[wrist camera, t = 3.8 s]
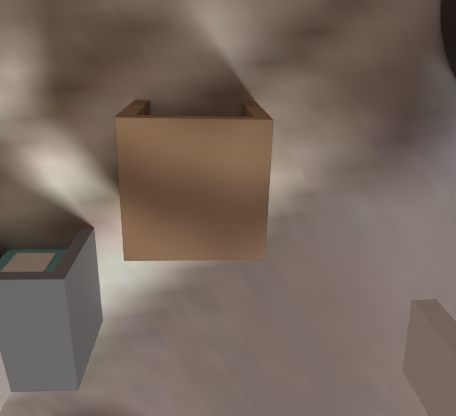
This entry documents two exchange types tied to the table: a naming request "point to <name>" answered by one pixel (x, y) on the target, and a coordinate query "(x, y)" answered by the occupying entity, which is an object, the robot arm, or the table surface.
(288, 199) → the table surface
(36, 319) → the box
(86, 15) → the table surface
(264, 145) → the cover walnut
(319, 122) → the table surface
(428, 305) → the robot arm
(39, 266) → the letter cube
